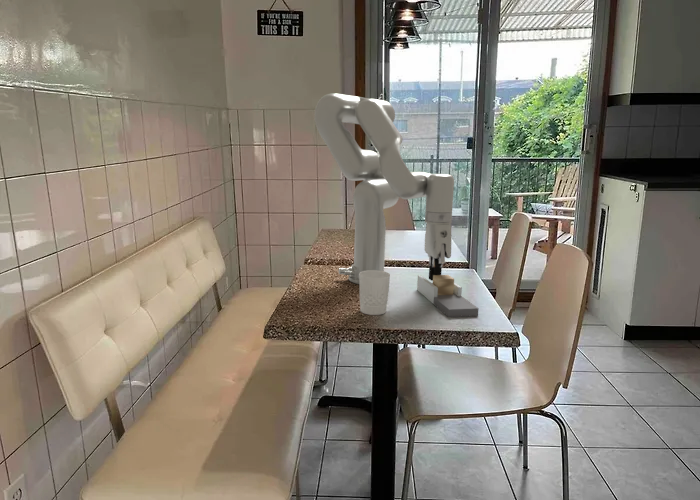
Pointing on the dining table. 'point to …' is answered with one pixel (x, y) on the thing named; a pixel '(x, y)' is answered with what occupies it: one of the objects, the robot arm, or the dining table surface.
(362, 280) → the white cup
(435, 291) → the channel
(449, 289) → the maple block
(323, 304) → the dining table surface
